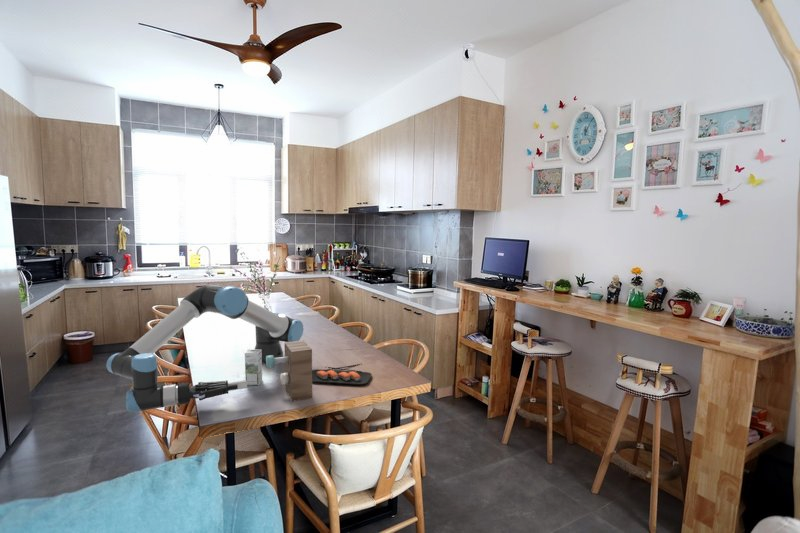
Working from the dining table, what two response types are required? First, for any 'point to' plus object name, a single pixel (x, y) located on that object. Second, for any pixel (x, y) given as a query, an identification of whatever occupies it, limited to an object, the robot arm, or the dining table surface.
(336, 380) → the sushi plate
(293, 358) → the block
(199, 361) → the dining table surface
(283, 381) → the cream knob
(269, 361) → the teal knob
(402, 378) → the dining table surface
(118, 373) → the robot arm
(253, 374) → the syrup box
